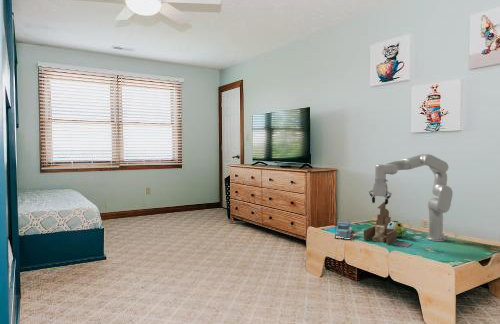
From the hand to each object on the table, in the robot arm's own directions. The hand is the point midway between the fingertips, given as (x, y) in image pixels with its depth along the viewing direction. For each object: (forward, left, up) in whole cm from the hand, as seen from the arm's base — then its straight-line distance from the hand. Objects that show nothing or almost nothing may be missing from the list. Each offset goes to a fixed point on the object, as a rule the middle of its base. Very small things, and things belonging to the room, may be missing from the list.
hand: (379, 203), depth 271 cm
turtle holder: (-6, -19, -29) cm, 35 cm away
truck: (+29, +2, -29) cm, 41 cm away
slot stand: (0, 0, -28) cm, 28 cm away
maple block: (0, 0, -25) cm, 25 cm away
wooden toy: (+8, -30, -29) cm, 42 cm away
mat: (-17, 0, -28) cm, 33 cm away
